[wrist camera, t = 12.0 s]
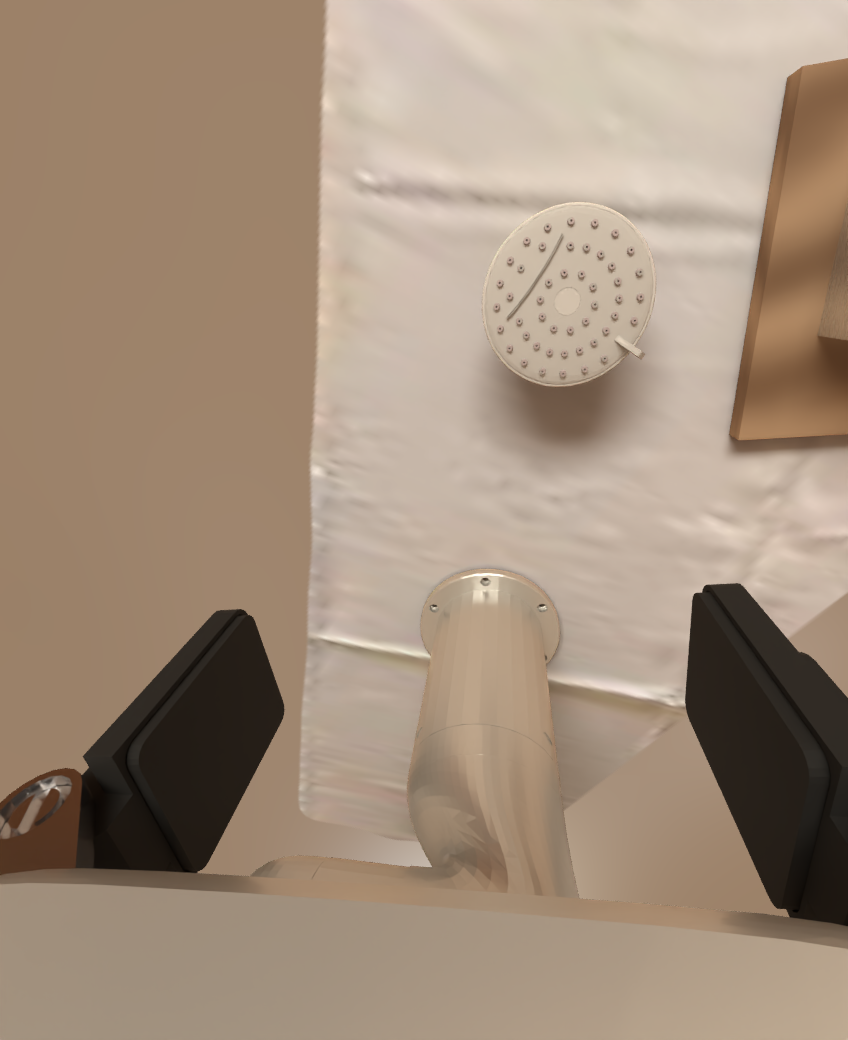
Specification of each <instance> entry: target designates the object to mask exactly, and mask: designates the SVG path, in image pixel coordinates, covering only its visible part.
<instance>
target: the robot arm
mask: <svg viewBox="0 0 848 1040" xmlns="http://www.w3.org/2000/svg"><path fill="white" fill-rule="evenodd" d="M420 629H421V637H422V640H423V642H424V645H425V648H426V649H427V651H428V652H429V654H430V656H431V658H430V664H429V669H428V674H427V679H426V685H425V690H424V695H423V700H422V706H421V711H420V716H419V721H418V727H417V732H416V737H415V742H414V748H413V753H412V758H411V764H410V769H409V775H408V783H407V802H408V808H409V813H410V818H411V822H412V825H413V827H414V830H415V833H416V835H417V838H418V840H419V842H420V844H421V846H422V848H423V850H424V852H425V854H426V856H427V858H428V860H429V861H430V863H431V865H432V867H418V866H410V867H405V866H397V865H389V864H381V863H373V862H365V861H357V860H348V859H341V858H333V857H331V858H327V857H318V856H302V855H299V856H287V857H282V858H278V859H276V860H273V861H270V862H268V863H266V864H265V865H263V866H262V867H260V868H258V869H257V870H256V871H255V872H253V873H252V874H251V875H250V876H233V875H217V874H199V873H197V872H198V871H200V870H202V869H203V868H204V867H205V866H206V865H207V863H208V862H209V860H210V858H211V856H212V854H213V852H214V850H215V848H216V846H217V844H218V843H219V841H220V839H221V837H222V835H223V833H224V831H225V829H226V827H227V825H228V823H229V821H230V819H231V818H232V816H233V814H234V812H235V810H236V808H237V806H238V804H239V802H240V800H241V798H242V796H243V794H244V793H245V791H246V789H247V786H248V785H249V783H250V781H251V779H252V777H253V775H254V773H255V771H256V769H257V768H258V766H259V763H260V762H261V760H262V758H263V756H264V754H265V752H266V750H267V748H268V746H269V745H270V743H271V740H272V739H273V737H274V735H275V733H276V731H277V729H278V727H279V725H280V723H281V721H282V719H283V715H284V704H283V700H282V697H281V694H280V692H279V689H278V686H277V683H276V680H275V677H274V675H273V672H272V669H271V666H270V663H269V660H268V657H267V655H266V652H265V649H264V646H263V643H262V640H261V638H260V635H259V632H258V629H257V626H256V623H255V621H254V619H253V617H252V616H250V615H248V614H247V613H246V612H245V611H244V610H241V609H237V610H220V611H216V612H215V613H214V614H213V615H212V616H211V617H210V618H209V619H208V620H207V621H206V623H205V624H204V625H203V626H202V627H201V628H200V629H199V630H198V631H197V632H196V633H195V634H194V636H193V637H192V638H191V639H190V640H189V641H188V642H187V643H186V644H185V645H184V646H183V648H182V649H181V650H180V651H179V652H178V653H177V654H176V655H175V656H174V657H173V659H172V660H171V661H170V662H169V663H168V664H167V665H166V666H165V667H164V668H163V669H162V671H161V672H160V673H159V674H158V675H157V676H156V677H155V678H154V679H153V680H152V682H151V683H150V684H149V685H148V686H147V687H146V688H145V689H144V690H143V691H142V693H141V694H140V695H139V696H138V697H137V698H136V699H135V700H134V701H133V702H132V703H131V705H130V706H129V707H128V708H127V709H126V710H125V711H124V712H123V713H122V714H121V715H120V716H119V717H118V719H117V720H116V721H115V722H114V723H113V724H112V725H111V726H110V727H109V728H108V730H107V731H106V732H105V733H104V734H103V735H102V736H101V737H100V738H99V739H98V740H97V742H96V743H95V744H94V745H93V746H92V747H91V748H90V749H89V750H88V751H87V752H86V754H85V755H84V756H83V757H84V759H85V761H86V762H87V764H88V766H89V768H88V769H87V771H86V772H85V773H84V774H83V775H81V774H80V773H79V772H78V771H77V770H75V769H70V768H63V769H57V770H52V771H50V772H47V773H45V774H42V775H39V776H37V777H35V778H34V779H32V780H30V781H28V782H26V783H25V784H23V785H22V786H20V787H19V788H17V789H16V790H15V791H13V792H12V793H11V794H9V795H8V796H7V797H6V798H5V799H4V800H3V801H1V802H0V1040H848V698H847V697H846V696H845V694H844V693H843V692H842V691H841V690H840V689H839V688H838V687H837V685H836V684H835V683H834V682H833V681H832V679H831V678H830V677H829V676H828V675H827V674H826V673H825V671H824V670H823V669H822V668H821V667H820V666H819V665H818V664H817V662H816V661H815V660H814V659H812V658H811V657H810V656H809V655H807V654H805V653H802V652H798V651H797V650H796V648H795V647H794V646H793V645H792V644H791V643H790V641H789V640H788V639H787V638H786V637H785V635H784V634H783V633H782V632H781V631H780V629H779V628H778V627H777V626H776V625H775V624H774V622H773V621H772V620H771V619H770V618H769V616H768V615H767V614H766V613H765V612H764V611H763V609H762V608H761V607H760V606H759V605H758V603H757V602H756V601H755V600H754V599H753V598H752V596H751V595H750V594H749V593H748V592H747V590H746V589H745V588H744V587H743V586H742V585H741V584H738V583H735V584H716V585H706V586H704V588H703V591H702V593H695V594H694V596H693V600H692V614H691V628H690V641H689V655H688V668H687V682H686V696H685V703H686V710H687V714H688V717H689V720H690V722H691V724H692V727H693V729H694V731H695V733H696V736H697V738H698V740H699V742H700V745H701V747H702V749H703V751H704V753H705V756H706V758H707V760H708V762H709V765H710V767H711V769H712V771H713V773H714V776H715V778H716V780H717V783H718V785H719V787H720V789H721V791H722V793H723V796H724V798H725V800H726V802H727V805H728V807H729V809H730V812H731V814H732V816H733V818H734V820H735V823H736V825H737V827H738V829H739V832H740V834H741V836H742V838H743V840H744V843H745V845H746V847H747V849H748V852H749V854H750V856H751V858H752V860H753V863H754V865H755V867H756V870H757V872H758V874H759V876H760V878H761V881H762V883H763V885H764V887H765V889H766V892H767V894H768V896H769V898H770V900H771V902H772V903H773V905H774V906H775V907H776V908H777V909H786V910H787V912H788V914H789V916H790V917H783V916H775V915H768V914H759V913H747V912H737V911H726V910H715V909H703V908H692V907H681V906H670V905H658V904H647V903H635V902H621V901H608V900H607V901H606V900H594V899H580V898H579V894H578V890H577V886H576V881H575V877H574V872H573V868H572V861H571V856H570V850H569V845H568V839H567V833H566V826H565V819H564V812H563V804H562V796H561V788H560V779H559V772H558V764H557V755H556V747H555V738H554V730H553V721H552V713H551V704H550V696H549V687H548V679H547V670H546V664H547V663H548V662H549V661H550V660H551V658H552V657H553V655H554V654H555V651H556V649H557V646H558V644H559V637H560V629H559V621H558V616H557V612H556V610H555V608H554V606H553V603H552V601H551V600H550V599H549V597H548V596H547V595H546V594H545V592H544V591H543V590H542V589H540V588H539V587H538V586H537V585H536V584H534V583H533V582H531V581H530V580H528V579H526V578H524V577H523V576H520V575H517V574H515V573H512V572H509V571H503V570H498V569H476V570H469V571H465V572H462V573H459V574H456V575H454V576H452V577H450V578H449V579H447V580H445V581H444V582H442V583H441V584H440V585H439V586H437V587H436V588H435V589H434V591H433V592H432V593H431V594H430V596H429V597H428V599H427V601H426V603H425V605H424V608H423V612H422V616H421V624H420Z"/></svg>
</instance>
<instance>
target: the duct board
mask: <svg viewBox="0 0 848 1040" xmlns="http://www.w3.org/2000/svg"><path fill="white" fill-rule="evenodd" d="M842 434H848V58H847V59H841V60H836V61H830V62H824V63H819V64H813V65H807V66H803V67H801V68H800V69H798V70H797V71H796V72H794V73H793V74H792V75H790V76H789V77H788V78H787V84H786V90H785V97H784V103H783V109H782V115H781V121H780V127H779V133H778V139H777V146H776V152H775V158H774V164H773V170H772V176H771V182H770V188H769V195H768V201H767V207H766V213H765V219H764V225H763V231H762V237H761V243H760V250H759V256H758V262H757V268H756V274H755V280H754V286H753V292H752V299H751V305H750V311H749V317H748V323H747V329H746V335H745V341H744V348H743V354H742V360H741V366H740V372H739V378H738V384H737V390H736V396H735V403H734V409H733V415H732V421H731V427H730V433H729V435H731V436H732V437H734V438H736V439H737V440H754V439H771V438H789V437H807V436H824V435H842Z"/></svg>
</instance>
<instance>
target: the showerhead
mask: <svg viewBox="0 0 848 1040" xmlns="http://www.w3.org/2000/svg"><path fill="white" fill-rule="evenodd" d="M655 293H656V274H655V267H654V262H653V258H652V255H651V252H650V249H649V247H648V245H647V243H646V241H645V239H644V237H643V236H642V235H641V233H640V232H639V230H638V229H637V228H636V227H635V226H634V225H633V224H632V223H631V222H630V221H629V220H628V219H627V218H626V217H624V216H623V215H621V214H620V213H618V212H616V211H614V210H612V209H610V208H608V207H605V206H602V205H598V204H594V203H586V202H573V203H565V204H560V205H556V206H553V207H550V208H547V209H545V210H543V211H541V212H539V213H537V214H535V215H533V216H532V217H530V218H529V219H527V220H526V221H525V222H523V223H522V224H521V225H520V226H519V227H517V228H516V229H515V230H514V231H513V232H512V233H511V234H510V235H509V236H508V238H507V239H506V240H505V241H504V243H503V244H502V245H501V247H500V248H499V250H498V251H497V253H496V255H495V257H494V259H493V261H492V263H491V265H490V268H489V270H488V273H487V276H486V280H485V284H484V289H483V296H482V315H483V323H484V327H485V331H486V334H487V337H488V340H489V342H490V344H491V346H492V348H493V350H494V352H495V353H496V355H497V356H498V358H499V359H500V360H501V361H502V362H503V363H504V365H506V366H507V367H508V368H509V369H510V370H511V371H512V372H514V373H515V374H516V375H518V376H520V377H521V378H523V379H525V380H527V381H530V382H532V383H535V384H539V385H543V386H550V387H568V386H574V385H578V384H583V383H585V382H588V381H591V380H593V379H595V378H598V377H600V376H601V375H603V374H605V373H607V372H608V371H609V370H611V369H612V368H614V367H615V366H616V365H617V364H619V363H620V362H621V361H622V360H623V359H624V358H625V357H626V356H627V355H628V354H629V353H630V352H631V353H633V354H634V355H635V356H637V357H638V358H640V359H642V358H643V357H644V355H645V354H644V353H643V352H642V351H640V350H639V349H638V348H636V347H635V345H636V344H637V342H638V341H639V339H640V338H641V336H642V334H643V332H644V330H645V328H646V326H647V324H648V321H649V319H650V316H651V313H652V310H653V305H654V301H655Z"/></svg>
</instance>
